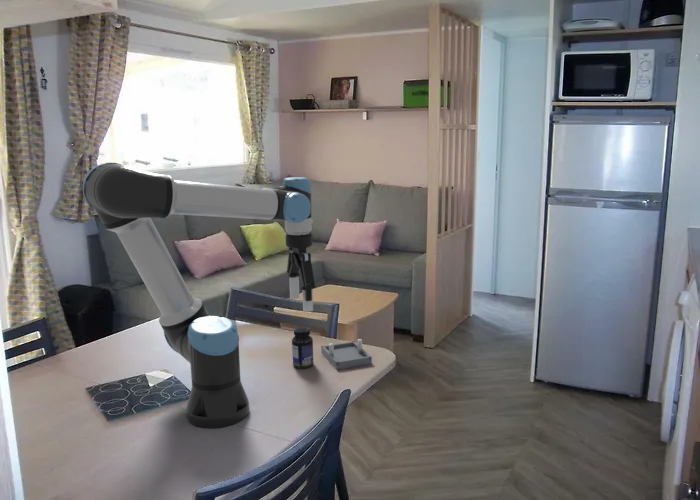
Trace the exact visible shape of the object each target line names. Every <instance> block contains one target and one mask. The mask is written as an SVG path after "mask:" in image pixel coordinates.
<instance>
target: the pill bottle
mask: <svg viewBox="0 0 700 500" xmlns="http://www.w3.org/2000/svg"><path fill="white" fill-rule="evenodd" d="M310 334H311V329H310V328H309V327H305V326H302V327H296V328H294V330H293V335H294V336H293V337H292V339H291V349H292V350H291V351H292V365H293V367H294V368H297V369H308V368H311V367H312V366H313V365H314V343H313V342H314V340H313V337H312V336H311V335H310Z"/></svg>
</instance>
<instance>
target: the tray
mask: <svg viewBox="0 0 700 500" xmlns="http://www.w3.org/2000/svg"><path fill="white" fill-rule="evenodd" d="M320 347H321V354H322V355H323V357H324V358H326V359H327V361H328V362H329V363H330V364H331V365H332V366H333V368H335V370H343V369H348V368H349V369H350V368H355V367H361V366H368V365H372V364H373V363H372V356H371V355H370V354H369V353H368V352H367V351H366V350H365V349H363V339H361V338H358V339H357V342H356V341H354V340H353V341H348V342H341V343H331V342H330V343H328V344H326V345H321V346H320Z"/></svg>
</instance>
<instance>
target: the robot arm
mask: <svg viewBox="0 0 700 500" xmlns="http://www.w3.org/2000/svg"><path fill="white" fill-rule="evenodd" d="M82 183H83V184H82V193H83V196H84V199H85V201H86V203H87V204H88V205H89V206H90V207H91V208H92V209H94V211H95V212H96V215H98V218H99V219H100V221H101V223H102V225H103V226H104V228H105V230H107V231H109V232H113V233H115V234H116V235H117V237H118V239H119V241H120V243H121V244H122V246H123V248H124V250H125V251H126V253H127V255H128V257H129V259H130V260H131V262H132V264H133V266H134V267H135V269H136V270H137V273H138V275H139V276H140V278H141V280H142V282H143V283H144V285H145V286H146V287H145V288H146V289H147V290H148V292H149V294H150V296H151V297H152V299H153V302H154V303H155V305H156V306H157V309H158V310H159V312H160V316H159V319H158V322H159V324H160V326H161V329H162V330H163V336H164V338H165V341H166V342H167V344H168V346H169V347H170V348H171V349H172V350H173V351H174V352H176V353H177V354H179V355H180V356H181V357H182V358H183V359H185V360H186V361H187V362H188V363H189V364H190V375H191V390H190V393H189V397H188V401H187V404H186V412H185V413H186V419H187V421H188V422H189V423H190V424H192V425H193V426H195V427H199V428H200V427H201V428H205V429H207V428H209V429H211V428H212V429H214V428H215V429H216V428H222V427H224V428H225V427H228V426H232V425H235V424H236V423H239V422H241V421H243V420H244V419H245V418H246V417H247V416H248V415H249V414H250V402H249V397H248V396H247V395H248V394H247V393H246V391H245V389H244V386H243V383H242V381H241V364H240V343H239V342H240V335H239V332H238V327H237V325H236V323H235V322H234V321H233V320H231V319H230V318H228V317H225V316H221V317H220V316H219V315H210V313H209V312H208V310H207V309H206V307H205V305H204V303H203V301H202V299H200V298H197V297H193V295H192V293H191V292H190V289H189V287H188V285H187V284H186V282H185V281H184V277H183V276H182V274H181V272H180V271H179V269H178V267H177V265H176V263H175V262H174V260H173V257H172V256H171V253H170V252H169V250H168V248H167V246H166V244H165V242H164V240H163V239H162V237H161V234H160V233H159V231H158V229H157V227H156V226H155V223H154V222H153V220H152V218H154V219H155V218H157V219H158V218H159V219H167V218H169V217H170V216H172V215H184V216H202V217H203V216H204V217H217V218H231V219H232V218H233V219H235V218H236V219H251V220H252V219H253V220H267V221H268V220H269V221H281V222H283V221H284V231H285V233H286V234H284V235H285V245H286V247H287V248H288V257H287V266H286V267H287V268H286V274H288V277H289V278H288V279H289V281H288V282H289V299H290V300H295V299H297V300H298V299H300V290H301V291H302V292H301V293H302V312H303V313H308V312H314V295H313V291H314V289H316V284H315V276H314V272H313V266H312V257H311V256H312V255H311V253H310V252H307V248H309V247H312V246H313V234H312V230H313V229H312V228H313V227H312V224H313V223H314V220H313V219H312V187H311V181H310V179H309V178H308V177H305V176H294V177H293V176H292V177H285V178H284V179H283V182H282V185H280V186H268V187H267V186H265V187H249V186H248V187H247V186H239V185H238V186H237V185H226V184H217V183H215V184H214V183H208V182H199V181H198V182H197V181H187V180H176V179H173V178H172V176H171V175H169V174H162V173H155V172H151V171H147V170H143V169H140V168H137V167H133V166H130V165H126V164H121V163H117V162H105V163H100V164H98V165H96V166H94V167H93V168H91V169H90V170H89V171H88V172H87V174H86V175H85V177H84V179H83V181H82ZM300 278H301V279H300ZM299 279H300V280H301V283H302V286H301V289H300V281H299Z"/></svg>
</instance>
